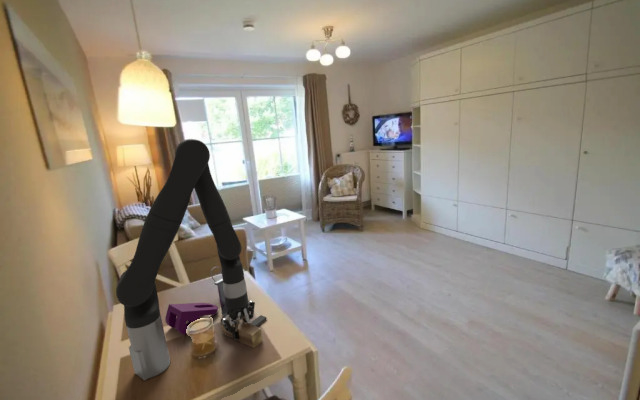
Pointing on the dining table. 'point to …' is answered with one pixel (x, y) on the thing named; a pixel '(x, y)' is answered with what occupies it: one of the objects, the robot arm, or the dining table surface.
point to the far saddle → (258, 320)
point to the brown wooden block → (247, 334)
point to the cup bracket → (221, 297)
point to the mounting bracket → (187, 314)
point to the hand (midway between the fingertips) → (241, 335)
